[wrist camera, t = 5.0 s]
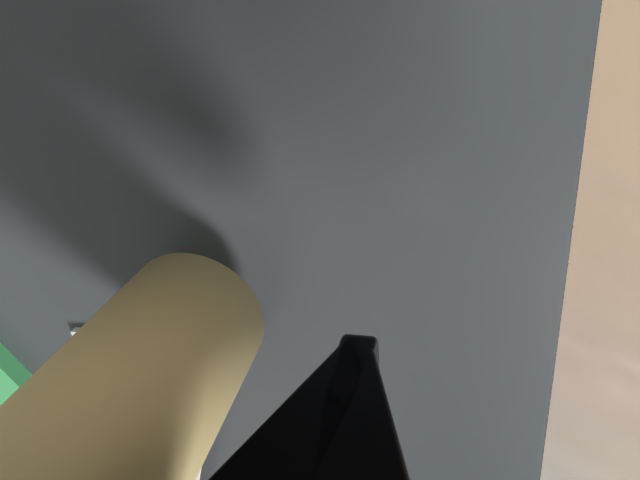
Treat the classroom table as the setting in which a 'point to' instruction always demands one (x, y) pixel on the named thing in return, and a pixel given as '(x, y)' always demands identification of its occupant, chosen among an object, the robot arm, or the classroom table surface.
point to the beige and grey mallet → (138, 380)
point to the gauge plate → (310, 193)
